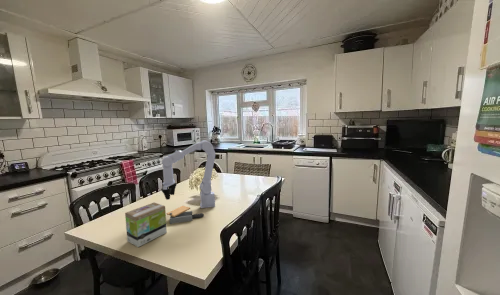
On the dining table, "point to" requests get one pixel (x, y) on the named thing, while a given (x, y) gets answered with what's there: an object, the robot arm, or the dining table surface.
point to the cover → (178, 211)
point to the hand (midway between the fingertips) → (170, 196)
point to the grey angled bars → (181, 217)
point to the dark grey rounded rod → (197, 215)
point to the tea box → (145, 223)
